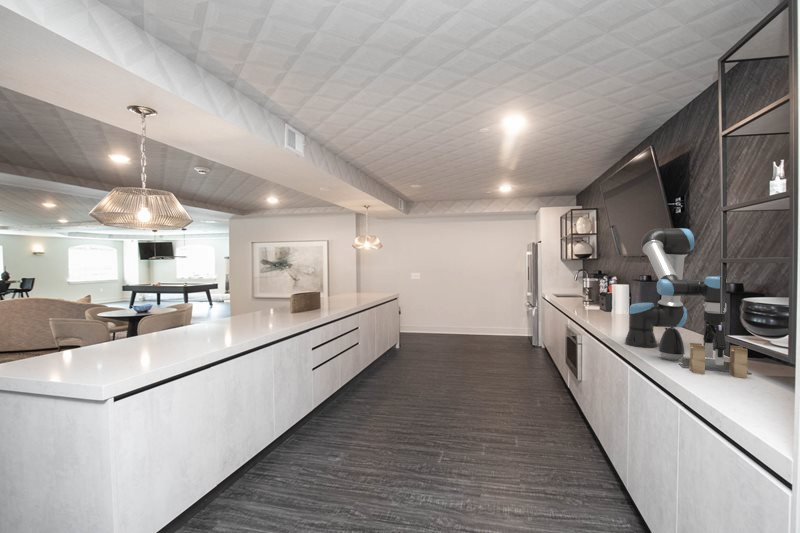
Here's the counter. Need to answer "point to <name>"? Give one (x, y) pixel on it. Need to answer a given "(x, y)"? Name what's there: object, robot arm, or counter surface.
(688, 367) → the mat
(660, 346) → the black tapered rounded piece
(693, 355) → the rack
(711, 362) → the rail
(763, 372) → the counter surface
